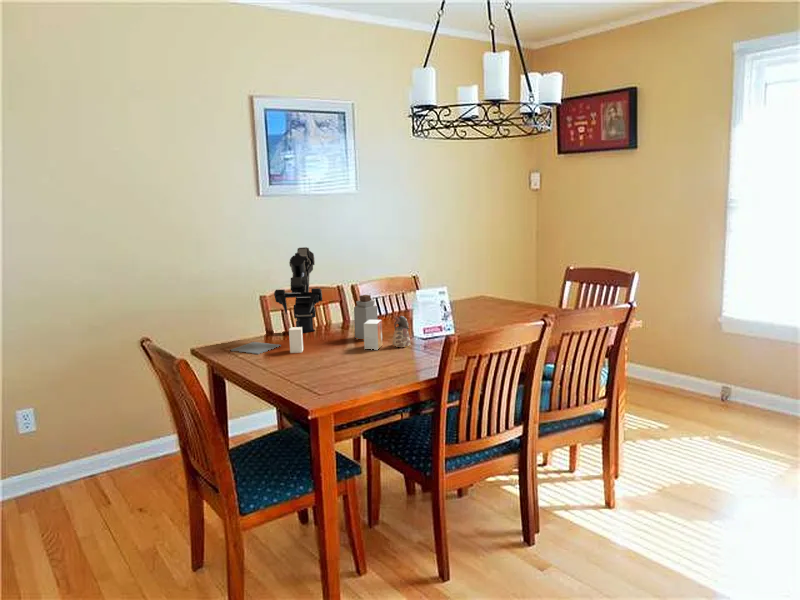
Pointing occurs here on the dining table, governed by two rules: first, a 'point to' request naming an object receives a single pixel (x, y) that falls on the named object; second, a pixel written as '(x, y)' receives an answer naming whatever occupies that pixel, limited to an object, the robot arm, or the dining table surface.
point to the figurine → (401, 332)
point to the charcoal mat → (255, 347)
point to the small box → (373, 334)
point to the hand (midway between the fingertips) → (297, 312)
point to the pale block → (296, 339)
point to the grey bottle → (363, 314)
